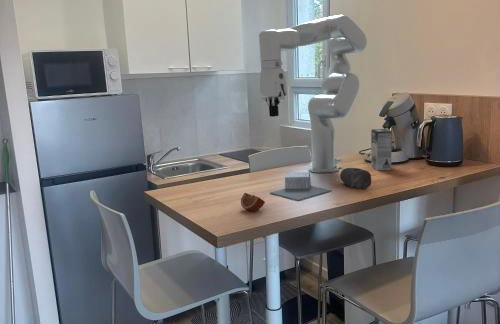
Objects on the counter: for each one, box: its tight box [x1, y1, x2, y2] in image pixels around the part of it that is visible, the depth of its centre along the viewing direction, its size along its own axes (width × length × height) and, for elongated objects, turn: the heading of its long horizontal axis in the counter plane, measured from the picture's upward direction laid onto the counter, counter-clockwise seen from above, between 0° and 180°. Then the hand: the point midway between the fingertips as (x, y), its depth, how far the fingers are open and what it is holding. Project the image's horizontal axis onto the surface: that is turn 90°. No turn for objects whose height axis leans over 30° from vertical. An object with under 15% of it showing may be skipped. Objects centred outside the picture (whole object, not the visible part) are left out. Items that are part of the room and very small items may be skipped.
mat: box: [269, 185, 332, 202], centre depth 150 cm, size 16×14×1 cm
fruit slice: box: [240, 192, 266, 212], centre depth 132 cm, size 8×7×5 cm
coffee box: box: [370, 128, 393, 171], centre depth 180 cm, size 9×6×16 cm
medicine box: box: [284, 171, 311, 189], centre depth 156 cm, size 8×4×9 cm
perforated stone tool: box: [339, 167, 372, 190], centre depth 153 cm, size 15×5×7 cm, turn 22°
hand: (274, 116), depth 161 cm, fingers closed
